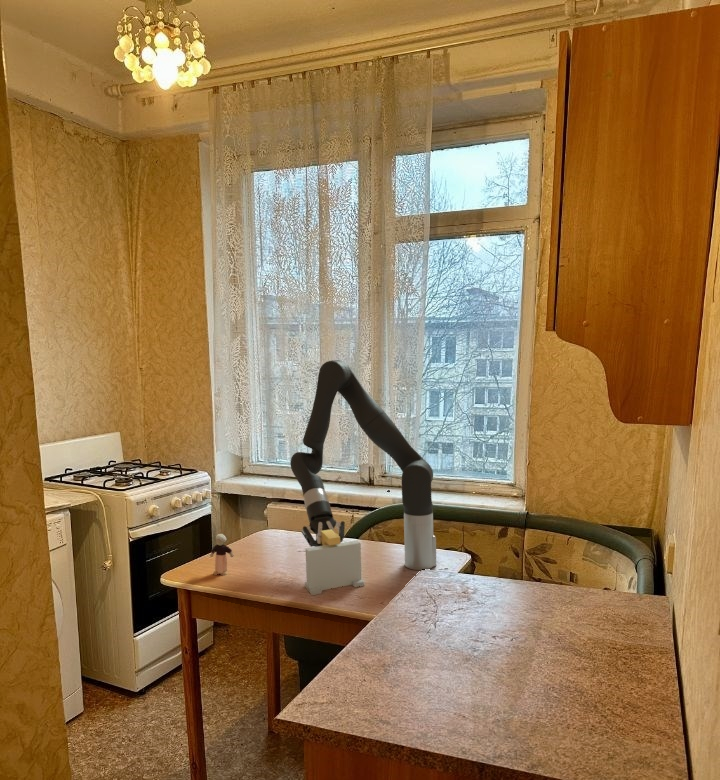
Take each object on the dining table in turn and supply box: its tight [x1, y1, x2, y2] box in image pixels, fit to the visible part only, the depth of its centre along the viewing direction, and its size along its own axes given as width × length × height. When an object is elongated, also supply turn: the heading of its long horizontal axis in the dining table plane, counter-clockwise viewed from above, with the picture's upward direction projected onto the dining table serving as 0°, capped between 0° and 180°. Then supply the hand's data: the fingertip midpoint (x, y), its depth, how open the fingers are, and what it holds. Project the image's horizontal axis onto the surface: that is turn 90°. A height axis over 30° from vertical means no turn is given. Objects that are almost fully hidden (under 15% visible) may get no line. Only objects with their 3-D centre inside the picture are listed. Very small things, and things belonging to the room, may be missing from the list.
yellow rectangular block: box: [321, 529, 341, 546], centre depth 166 cm, size 4×8×12 cm, turn 21°
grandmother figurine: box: [209, 533, 235, 576], centre depth 175 cm, size 8×4×13 cm, turn 92°
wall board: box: [304, 540, 365, 596], centre depth 164 cm, size 16×7×12 cm, turn 112°
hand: (330, 555), depth 166 cm, fingers open, 4 cm apart
